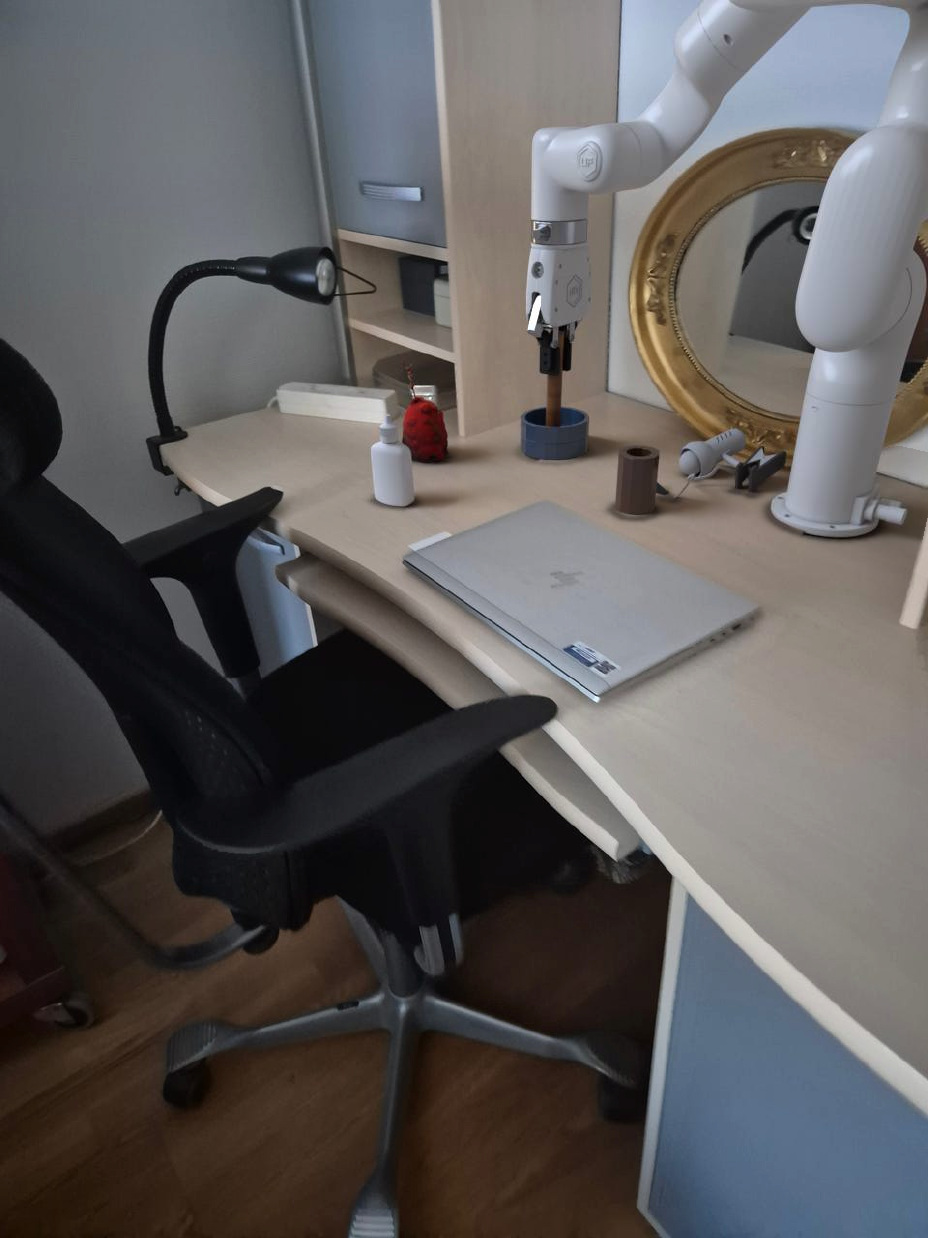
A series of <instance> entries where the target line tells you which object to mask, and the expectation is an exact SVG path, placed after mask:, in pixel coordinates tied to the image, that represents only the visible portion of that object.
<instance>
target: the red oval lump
mask: <svg viewBox="0 0 928 1238" xmlns="http://www.w3.org/2000/svg"><path fill="white" fill-rule="evenodd" d="M401 363H402V365H403V366H404V367H405V368H406V369H402V370H400V373H403V372H407V378H408V380H409V382H410V383H409V389H410V390H411V391H412V394H413V398H412V399H411V400H410V404H409V405H408V407H406V410H405V412H404V416H403V422H402V427H403V428H402V438H401V442H402V443H403V444H405V445H406V446H407V447H408V448H409V449H410V452H411V460H412V461H415V462H421V463H431V462H432V461H435V462H441V461H443V460H444V459H445V457H446V456H447V455H448V454H449V450H448V447H449V441H448V438H449V436H448V435H449V434H448V431H447V429H446V424H445V421H444V419H445V418H444V412H443V411H442V410H440V409H438V406H437V405H436V403H435V402H434V401H432V400H429V399H425V398H424V397H423V396H416V393H415V389H414V388H415V383H414V382H413V381H412V380H413V377H414V376H413V374H412V373H411V368H412V366H413V363H411V364H410V365H409V366H408V365H407V364H406V363H405V361H404V360H401Z"/></svg>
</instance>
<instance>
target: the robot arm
mask: <svg viewBox="0 0 928 1238" xmlns="http://www.w3.org/2000/svg"><path fill="white" fill-rule="evenodd" d="M844 5H845V6H848V5H878V6H882V7H887V8H895V9H900V10H903V11H905V12H906V13H907V15H908V18H909V19H908V20H909V24H908V25H909V26H908V31H907V34H906V37H905V40H904V43H903V45H902V47H901V50H900V52H899V54H898V56H897V59H896V61H895V64H894V67H893V70H892V73H891V75H890V81H889V83H888V88H887V93H886V97H885V98H884V99H885V100H884V102H883V106H882V109H881V112H880V116H879V118H878V121H877V124H876V126H875V128H873V129H872V130H869V131H868V132H866V133H865V134H863V135H861V136H860V137H858V138H857V139H856V140H855V141H853V142H852V143H851V144H850V145H849V146H848V147H847V148H846V149H845V151H844V152H843V153H842V155H841V156H840V157H839V159H838V160H837V161H836V164H835V165H834V167H833V168H832V171H831V173H830V175H829V177H828V179H827V182H826V184H825V186H824V191H823V194H822V196H821V200H820V204H819V208H818V210H817V214H816V218H815V222H814V225H813V230H812V233H811V237H810V241H809V244H808V247H807V252H806V255H805V259H804V263H803V267H802V270H801V274H800V277H799V282H798V286H797V292H796V297H795V305H794V306H795V308H794V309H795V319H796V323H797V327H798V329H799V331H800V333H801V334H802V337H804V339H805V340H806V341H807V342H808V344H810V345H811V346H813V347H815V349H814V353H813V357H812V361H811V364H810V369H809V373H808V378H807V384H806V388H805V392H804V398H803V403H802V409H801V414H800V419H799V424H798V431H797V435H796V441H795V446H794V450H793V457H792V462H791V467H790V472H789V478H788V484H787V489H786V491H785V492H782V493H780V494H778V495H775V497H774V498H773V499H772V500H771V504H770V512H771V514H772V515H773V516H774V517H775V518H776V519H777V520H778V521H780V522H782V523H783V524H785V525H788V526H790V527H792V528H795V529H798V530H802V533H804V534H808V535H812V536H818V537H827V538H851V537H857V536H863V535H866V534H868V533H870V532H872V531H873V530H875V529H876V528H877V526H878V525H879V521H880V520H881V521H885V522H887V523H891V524H895V525H898V526H902V525H903V524H904V522H905V520H906V518H907V515H908V514H907V513H908V509H907V508H902V506H903V505H902V504H903V502H902V501H899V500H894V499H887V498H883V496H882V495H881V494H879V491H880V487H881V484H879V483H875V481H876V480H875V479H876V476H877V472H878V467H879V464H880V460H881V456H882V451H883V448H884V443H885V439H886V435H887V431H888V427H889V423H890V420H891V415H892V411H893V407H894V402H895V399H896V396H897V393H898V392H897V391H898V388H899V384H900V381H901V376H902V372H903V370H904V369H903V368H904V366H905V362H906V358H907V355H908V351H909V349H910V345H911V342H912V339H913V336H914V333H915V330H916V328H917V325H918V322H919V320H920V316H921V313H922V310H923V306H924V303H925V300H926V299H925V298H926V292H927V273H926V269H925V265H924V263H923V261H922V259H921V257H920V255H918V253H917V252H916V251H915V250H914V247H915V245H916V241H917V239H918V236H919V232H920V230H921V227H922V225H923V224H922V223H924V222H926V221H928V0H702V1H701V2H700V3H699V4H698V5H697V6H696V7H695V9H693V10H692V12H691V13H690V14H689V15H688V17H686V19H685V20H683V22H682V23H681V24H680V25H679V27H678V28H677V30H676V32H675V34H674V36H673V41H672V46H673V54H674V58H675V61H676V63H675V67H674V70H673V72H672V75H671V76H670V79H669V80H668V82H667V83H666V85H665V87H664V88H663V89H662V90H661V91H660V93H659V94H658V95H657V96H656V98H655V99H654V100H653V101H652V102H651V103H650V104H649V105H648V106H647V108H646V109H644V111H642V113H640V115H639V116H638V117H636V119H635V120H633V121H625V122H623V121H622V122H614V123H601V124H600V123H599V124H595V125H590V126H587V127H586V126H585V127H583V126H577V125H576V126H575V125H574V126H572V125H571V126H566V125H565V126H550V127H549V126H548V127H543V128H540V129H538V130H537V131H535V133H534V134H533V137H532V139H531V140H532V141H531V189H530V190H531V191H530V192H531V194H530V195H531V196H530V197H531V198H530V199H531V200H530V201H531V202H530V211H531V212H530V247H531V248H530V252H529V257H528V265H527V275H526V289H525V314H526V315H525V316H526V320H527V322H528V326H527V330H526V332H527V334H528V335H530V336H532V337H534V338H535V340H536V344H537V346H538V347H539V367H538V368H539V371H538V372H539V373H540V374H542V375H552V376H557V375H559V373H560V347H557V345H558V331H563V332H564V348H563V372H569V371H571V370H572V356H573V355H572V354H573V342H574V341H575V338H576V336H575V335H576V330H577V328H578V325H579V324H580V323H581V322H582V321H583V320H584V319H585V318H586V317H588V315H589V314H590V312H591V305H592V270H591V269H592V268H591V255H590V247H589V242H588V241H587V240H588V223H589V198H590V197H589V196H590V195H593V196H594V195H595V196H603V195H609V194H615V193H619V192H625V191H633V190H638V189H641V188H644V187H646V186H648V185H650V184H652V183H653V182H655V181H656V180H658V178H660V177H661V176H662V175H663V174H664V173H665V172H666V171H667V170H669V168H671V166H673V165H674V164H675V163H676V162H677V161H678V160H679V159H680V158H682V156H683V155H684V154H685V153H686V152H687V151H688V150H689V149H690V148H691V147H692V146H693V145H694V144H695V143H696V141H697V140H698V139H699V138H700V137H701V135H702V134H703V133H704V131H705V130H706V129H707V127H708V126H709V124H710V123H711V121H712V119H713V117H714V116H715V115H716V113H717V112H718V110H719V108H720V107H721V105H722V102H723V100H724V99H725V97H726V95H727V94H728V93H729V92H730V91H731V90H732V89H733V88H734V86H735V85H736V84H737V83H738V82H739V81H740V80H741V79H742V78H743V77H744V76H745V75H746V74H747V73H749V71H750V70H751V69H752V68H753V67H754V66H755V65H756V64H757V63H758V62H759V61H760V60H761V59H762V58H763V57H764V56H765V55H766V54H767V53H768V52H769V51H770V50H771V49H772V48H773V47H774V46H775V45H776V44H777V43H778V42H779V41H780V40H781V39H782V38H783V37H784V36H785V35H786V34H787V33H788V32H789V31H790V30H791V29H792V28H793V27H794V26H795V25H796V24H797V23H798V22H799V21H800V20H801V19H802V18H803V17H804V16H805V15H806V14H807V13H808V12H809V11H810V10H811V9H812V8H816V7H818V8H819V7H831V6H844ZM549 332H550V333H549Z"/></svg>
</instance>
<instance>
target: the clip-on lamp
mask: <svg viewBox="0 0 928 1238" xmlns="http://www.w3.org/2000/svg"><path fill="white" fill-rule="evenodd" d="M746 445H747V437H746V435H745V433H744V432H743V431H742V430H740V429H738V428H734V427H733V428H730V429H728V430H726V431H724V432H721V433H720V434H718V435H716V436H714V437H711V438H710V439H707V440H705V441H703V440H702V441H701V440H696V441H695V440H694V441H690V442H689V443H687V444H686V445H684V446H683V447H682V448H681V450H680V452H679V456H678V457H679V460H678V465H679V469H680V470H681V472H683V474H686V475H688V476H687V477H686V480H687V481H688V482H687V483H686V485H685V486H684V487H683V488H682V490H681V491H680V492H679V493H678V494H676V495H675V496H673V498H678V497H679V496H681V495H682V494H683V493H684V491H686V489H687V488H688V486H689V485H690V484H691V483H692V482H696V481H702V480H705V479H709V478H710V477H712V476H714V475H715V473H716V472H717V471H718V470H722V471H725V472H727V473H731V474H735V475H734V489H736V490H739V489H740V488H742V487H743V484H744V482H745V481H746V480H747V479H748V489H747V492H748V493H753V492H755V491H757V490H758V487H759V486H760V485H761V484H762V483H764V482H765V481H767V480H768V479H770V478H771V477H772V476H774V475H775V474H777V473H778V472H779V471H781V470H782V469H783V468H784V467H785V465H786V461H787V451H786V450H780V451H779V452H778V453H776V454H769V455H766V454H765V446H763V445H759V446H758V447H757V448H756V449H755V450H754V452H752V453H751V455H750V456H749V457H748V458H747V459H746V460H745V461H744V462H741V461H740V460H737V459H736V458H734V457H733V456H734V455H736V454H738V453H740V452H742V451H743V450H744V449H745V447H746ZM721 462H725V463H727V464H728V465H730V466H732V467H734V468H735V469H733V468H729V467H727V466H725V465H722V464H721V465H720V464H719V463H721ZM717 464H718V465H717ZM697 474H699V475H698V476H696V475H697ZM656 494H658V495H661V496H667V495H668V494H669V490H668V489H666V488H665V487H664V486H663V485H661V484H660V483H659V482H658V481H657V487H656Z"/></svg>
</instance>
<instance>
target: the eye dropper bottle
mask: <svg viewBox="0 0 928 1238" xmlns="http://www.w3.org/2000/svg"><path fill="white" fill-rule="evenodd" d="M378 429H379V440H380V441H377V442H374V444H373V445H372V446H371V448H370V454H371V455H370V457H371V468H372V477H373V478H372V479H373V489H374V490H373V491H374V497H375V500H377V501H378V502H380V503H382V504H385V505H387V506H393V507H406V506H409V505H411V504H412V503H414V501H415V488H414V487H415V486H414V475H413V474H414V473H413V462H412V461H413V459H411V452H410V449H409V448H408V447H407V446H406V445H405V444H403V443H402V441H400V437H399V425H398V424H397V423H395V422H393V419H392V416H391V414H389V413H387V414H384V420H383V423H381V424H379V426H378Z"/></svg>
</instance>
